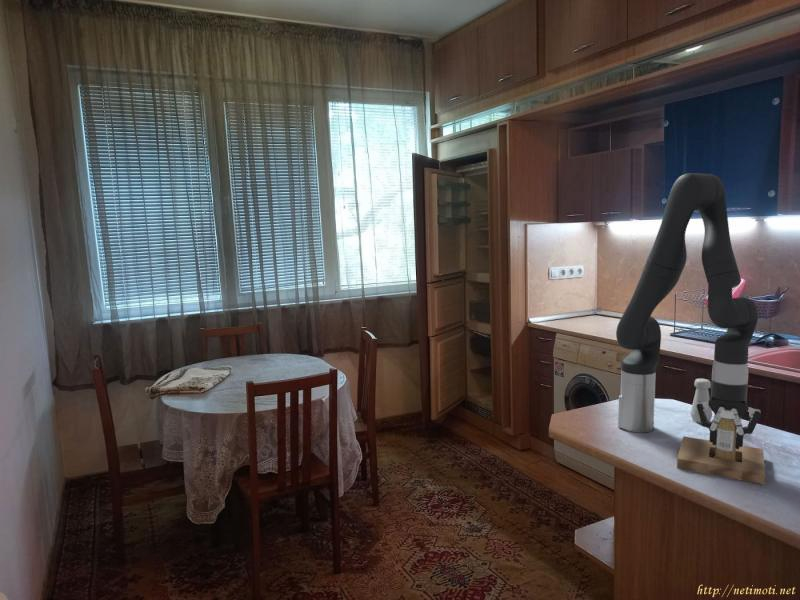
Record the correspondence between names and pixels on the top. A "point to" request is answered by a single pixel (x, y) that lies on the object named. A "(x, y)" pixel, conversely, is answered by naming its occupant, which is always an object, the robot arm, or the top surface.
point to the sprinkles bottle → (726, 436)
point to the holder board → (721, 461)
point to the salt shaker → (701, 399)
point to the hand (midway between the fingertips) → (725, 445)
